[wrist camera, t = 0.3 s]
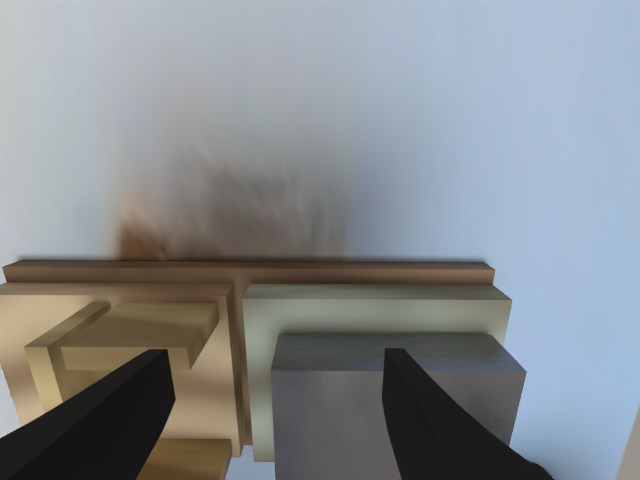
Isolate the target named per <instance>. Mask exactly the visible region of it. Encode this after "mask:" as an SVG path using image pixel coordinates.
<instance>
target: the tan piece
mask: <svg viewBox="0 0 640 480" xmlns="http://www.w3.org/2000/svg"><path fill="white" fill-rule="evenodd" d="M2 268H3V271H4V275H5V278H6V281H7V282H6V283H4V284H2V285H0V364H1V367H2V370H3V373H4V375H5V378H6V381H7V384H8V387H9V390H10V393H11V396H12V399H13V401H14V404H15V407H16V410H17V413H18V416H19V419H20V422H21V425H22V426H24V425H26V424H27V423H29V422H31V421H33V420H34V419H36V418H38V417H39V416H41V415H43V414H44V413H46V412H48V411H49V410H51V409H53V408H54V407H56V406H58V405H59V404H61V403H63V402H64V401H66V400H68V399H69V398H71V397H73V396H74V395H76V394H78V393H79V392H81V391H83V390H84V389H86V388H87V387H89V386H90V385H92V384H94V383H95V382H97V381H98V380H100V379H101V378H103V377H105V376H106V375H108V374H109V373H111V372H112V371H114V370H116V369H117V368H119V367H120V366H122V365H123V364H125V363H126V362H128V361H130V360H131V359H133V358H134V357H136V356H138V355H139V354H141V353H143V352H145V351H146V350H148V349H168V355H169V361H170V367H171V373H172V379H173V385H174V391H175V397H176V401H175V403H174V406H173V408H172V410H171V413H170V415H169V418H168V420H167V422H166V425H165V427H164V429H163V432H162V433H161V435H160V437H159V439H158V441H157V443H156V444H155V446H154V448H153V450H152V452H151V453H150V455H149V457H148V459H147V461H146V462H145V464H144V466H143V468H142V469H141V471H140V473H139V475H138V476H137V478H136V480H225V477H226V473H227V470H228V467H229V463H230V460H231V457H241V453H242V449H243V445H253V452H254V462H275V455H274V434H273V413H272V392H271V366H272V362H273V357H274V353H275V348H276V344H277V340H278V335H279V334H481V335H492V336H493V337H494V338H495V339H496V340H497V341H498V342H499V343H500V344H501V345H502V346H503V343H504V338H505V334H506V329H507V324H508V319H509V314H510V309H511V305H512V299H510V298H509V297H508V296H506V295H505V294H504V293H502V292H501V291H500V290H499V289H497V288H496V287H495V286H493V279H494V274H495V269H493V268H492V267H490V266H489V265H487V264H486V263H415V262H233V261H50V260H21V261H18V262H15V263H12V264H10V265H7V266H4V267H2Z"/></svg>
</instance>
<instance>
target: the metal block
mask: <svg viewBox="0 0 640 480" xmlns="http://www.w3.org/2000/svg"><path fill="white" fill-rule="evenodd" d="M385 348H404V349H405V350H406V351H407V353H408V354H409V355H410V356H411V357H412V358H413V359H414V360H415V361H416V362H417V363H418V364H419V365H420V366H421V367H422V368H423V370H424V371H425V372H426V373H427V374H428V375H429V376H430V377H431V378H432V379H433V380H434V381H435V382H436V383H437V384H438V385H439V386H440V387H441V388H442V389H443V390H444V391H445V392H446V393H447V394H448V395H449V396H450V397H451V398H452V399H453V400H454V401H455V402H456V403H457V404H459V405H460V406H461V407H462V408H463V409H464V410H465V411H466V412H467V413H469V414H470V415H471V416H472V417H473V418H474V419H475V420H476V421H478V422H479V423H480V424H481V425H482V426H483V427H485V428H486V429H487V430H488V431H489V432H491V433H492V434H493V435H494V436H496V437H497V438H498V439H500V440H501V441H502V442H503V443H505V444H506V445H507V446H508V447H509V444H510V440H511V435H512V431H513V427H514V423H515V419H516V415H517V410H518V406H519V402H520V398H521V394H522V389H523V385H524V381H525V377H526V373H527V372H526V371H525V370H524V369H523V367H522V366H521V365H520V364H519V363H518V362H517V361H516V360H515V359H514V358H513V357H512V356H511V355H510V354H509V353H508V352H507V351H506V349H505V348H504V347H503V346H502V345H501V344H500V343H499V342H498V341H497V340H496V339H495V338H494V337H493V336H492V335H481V334H279V335H278V340H277V344H276V348H275V353H274V357H273V362H272V366H271V392H272V413H273V434H274V455H275V476H276V480H402V479H401V476H400V472H399V469H398V466H397V462H396V459H395V456H394V452H393V449H392V445H391V442H390V438H389V435H388V431H387V426H386V421H385V415H384V410H383V404H382V385H383V370H384V356H385Z"/></svg>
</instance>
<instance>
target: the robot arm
mask: <svg viewBox="0 0 640 480" xmlns="http://www.w3.org/2000/svg"><path fill="white" fill-rule="evenodd" d="M175 401H176V397H175V391H174V385H173V379H172V373H171V367H170V361H169V355H168V349H148V350H146V351H145V352H143V353H141V354H139V355H138V356H136V357H134V358H133V359H131V360H130V361H128V362H126V363H125V364H123V365H122V366H120V367H119V368H117V369H116V370H114V371H112V372H111V373H109V374H108V375H106V376H105V377H103V378H101V379H100V380H98V381H97V382H95V383H94V384H92V385H90V386H89V387H87V388H86V389H84V390H83V391H81V392H79V393H78V394H76V395H74V396H73V397H71V398H69V399H68V400H66V401H64V402H63V403H61V404H59V405H58V406H56V407H54V408H53V409H51V410H49V411H48V412H46V413H44V414H43V415H41V416H39V417H38V418H36V419H34V420H33V421H31V422H29V423H27V424H26V425H24V426H22V427H20V428H18V429H17V430H15V431H13V432H11V433H9V434H7V435H6V436H4V437H2V438H0V480H136V478H137V476H138V475H139V473H140V471H141V469H142V468H143V466H144V464H145V462H146V461H147V459H148V457H149V455H150V453H151V452H152V450H153V448H154V446H155V444H156V443H157V441H158V439H159V437H160V435H161V433H162V432H163V429H164V427H165V425H166V422H167V420H168V418H169V415H170V413H171V410H172V408H173V406H174V403H175ZM382 404H383V410H384V415H385V421H386V426H387V431H388V435H389V438H390V442H391V445H392V449H393V452H394V456H395V459H396V462H397V466H398V469H399V472H400V476H401V479H402V480H554V479H552V478H551V477H550V476H548V475H547V474H545V473H544V472H542V471H541V470H540V469H538V468H537V467H535V466H534V465H532V464H531V463H530V462H528V461H527V460H526V459H524V458H523V457H522V456H520V455H519V454H517V453H516V452H515V451H514V450H512V449H511V448H510V447H508V446H507V445H506V444H505V443H503V442H502V441H501V440H500V439H498V438H497V437H496V436H494V435H493V434H492V433H491V432H489V431H488V430H487V429H486V428H485V427H483V426H482V425H481V424H480V423H479V422H478V421H476V420H475V419H474V418H473V417H472V416H471V415H470V414H469V413H467V412H466V411H465V410H464V409H463V408H462V407H461V406H460V405H459V404H457V403H456V402H455V401H454V400H453V399H452V398H451V397H450V396H449V395H448V394H447V393H446V392H445V391H444V390H443V389H442V388H441V387H440V386H439V385H438V384H437V383H436V382H435V381H434V380H433V379H432V378H431V377H430V376H429V375H428V374H427V373H426V372H425V371H424V370H423V368H422V367H421V366H420V365H419V364H418V363H417V362H416V361H415V360H414V359H413V358H412V357H411V356H410V355H409V354H408V353H407V351H406V350H405V349H404V348H385V356H384V370H383V385H382Z"/></svg>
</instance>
